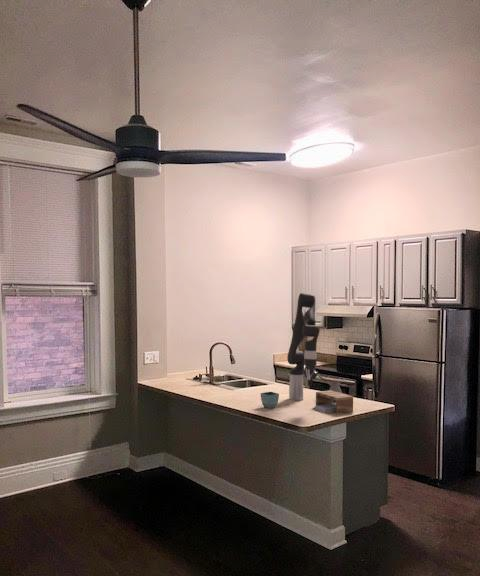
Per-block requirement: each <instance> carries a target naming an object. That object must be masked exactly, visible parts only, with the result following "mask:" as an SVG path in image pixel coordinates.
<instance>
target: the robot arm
mask: <svg viewBox="0 0 480 576" xmlns="http://www.w3.org/2000/svg"><path fill="white" fill-rule="evenodd" d="M296 305H297V306H296V315H295V320H294V324H293V325H294V326H293V330H292V336H291V342H290V346H289V349H288V352H287V363H288V364H289V365H295V367H293V368H291V369H290V370H289V385H288V387H289V389H288V391H289V392H288V393H289V395H288V399H289V400H291V401H303V400H304V376H305V379H307V386H308V387H312V386H313V380H316V378H317V375H319V371H316V366H317V360H318V359H317V357H318V355H317V354H318V353H317V343H318V338H319V335H320V333H321V331H320V327H319V325H317V324H316V322H317V321H316V316H315V315H316V314H315V313H316V296H315V295H314V294H312V293H307V292H306V293H305V292H300V294H299V295H298V299H297V304H296ZM303 308H308V309H307V310H306V312H305V313H303ZM306 337H307V338H310V337H312V338H311V339H309V340H305V338H306ZM303 340H305V341H304V351H303V350H298V347H299V346H300V344H301V343H302V342H303Z"/></svg>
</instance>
